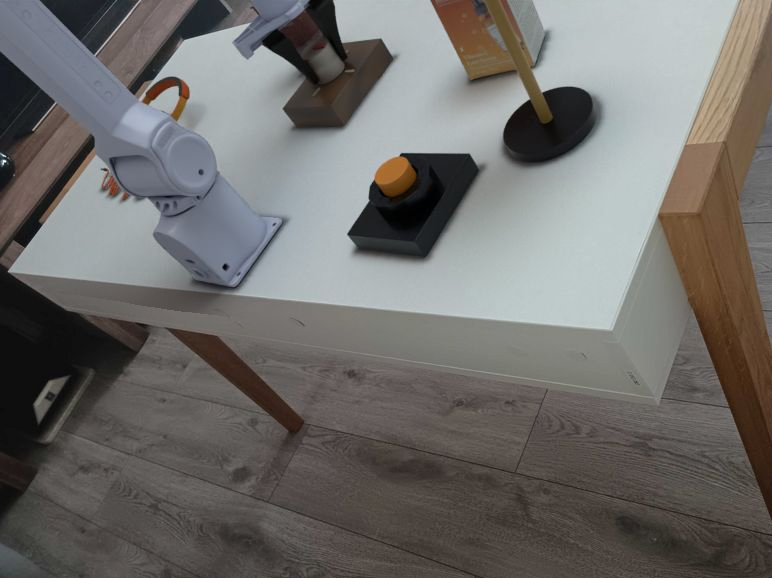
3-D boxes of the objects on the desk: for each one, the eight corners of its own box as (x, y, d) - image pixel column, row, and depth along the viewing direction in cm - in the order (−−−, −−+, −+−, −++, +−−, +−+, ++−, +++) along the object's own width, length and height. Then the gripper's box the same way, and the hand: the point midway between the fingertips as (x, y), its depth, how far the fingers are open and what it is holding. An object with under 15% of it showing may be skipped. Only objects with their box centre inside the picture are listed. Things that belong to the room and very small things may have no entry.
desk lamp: (575, 168, 67) (456, -96, 50) (486, 166, 73) (352, -70, 56) (618, 90, 70) (520, -181, 53) (529, 94, 76) (416, -148, 59)
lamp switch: (405, 198, 69) (395, 185, 68) (377, 197, 71) (367, 183, 70) (423, 170, 71) (414, 156, 69) (395, 169, 73) (386, 156, 71)
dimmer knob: (312, 85, 93) (293, 59, 90) (327, 64, 94) (309, 37, 92) (335, 82, 90) (316, 55, 88) (350, 60, 92) (332, 33, 89)
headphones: (158, 212, 104) (221, 89, 107) (124, 193, 100) (190, 65, 103) (104, 201, 115) (163, 89, 118) (72, 183, 111) (133, 68, 114)
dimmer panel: (344, 126, 90) (329, 105, 87) (296, 127, 95) (281, 107, 93) (393, 58, 94) (380, 36, 92) (344, 63, 99) (331, 42, 97)
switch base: (426, 257, 69) (405, 228, 66) (358, 249, 74) (335, 221, 71) (479, 169, 73) (461, 138, 70) (411, 168, 78) (392, 139, 75)
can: (343, 39, 104) (281, -56, 94) (334, 66, 100) (269, -30, 90) (307, 54, 106) (244, -37, 96) (297, 81, 102) (230, -11, 93)
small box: (470, 82, 83) (425, -3, 75) (483, 49, 85) (441, -36, 78) (536, 66, 79) (495, -25, 71) (547, 33, 81) (509, -59, 74)
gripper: (218, 16, 79) (294, 116, 89) (322, -70, 80) (387, 38, 90) (200, 4, 84) (275, 101, 94) (298, -77, 85) (362, 26, 95)
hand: (328, 69), depth 92 cm, fingers closed on dimmer knob, 4 cm apart
